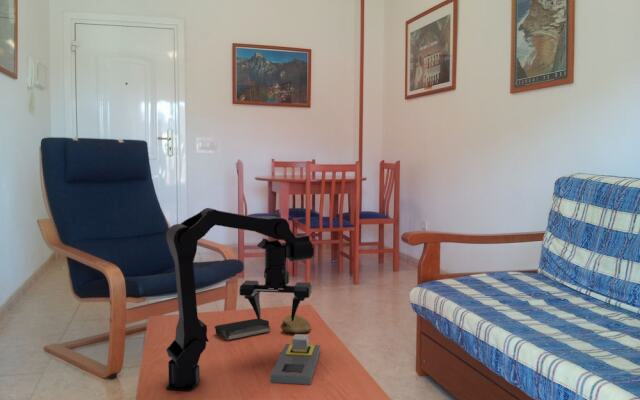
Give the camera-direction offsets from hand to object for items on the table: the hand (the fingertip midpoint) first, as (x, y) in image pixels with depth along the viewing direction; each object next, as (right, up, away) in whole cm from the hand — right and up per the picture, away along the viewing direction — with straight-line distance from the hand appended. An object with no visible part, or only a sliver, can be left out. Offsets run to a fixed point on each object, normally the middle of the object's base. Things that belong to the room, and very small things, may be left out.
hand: (275, 320), depth 140 cm
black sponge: (-12, -10, +24) cm, 29 cm away
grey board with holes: (+6, -12, -1) cm, 14 cm away
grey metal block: (+7, -12, +5) cm, 14 cm away
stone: (+5, -10, +26) cm, 28 cm away
